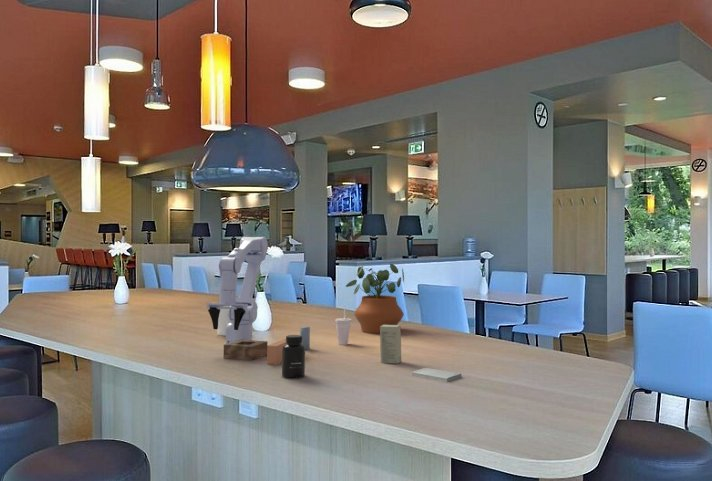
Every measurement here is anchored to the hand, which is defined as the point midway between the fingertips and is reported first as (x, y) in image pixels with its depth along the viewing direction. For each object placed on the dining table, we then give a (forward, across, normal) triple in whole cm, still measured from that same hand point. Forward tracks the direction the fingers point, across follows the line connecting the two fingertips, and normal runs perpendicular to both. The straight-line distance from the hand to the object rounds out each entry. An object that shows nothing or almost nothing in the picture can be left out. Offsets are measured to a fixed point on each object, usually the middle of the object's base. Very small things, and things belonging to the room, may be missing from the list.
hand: (225, 329), depth 200 cm
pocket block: (+9, +8, +1) cm, 12 cm away
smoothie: (+5, +36, +30) cm, 47 cm away
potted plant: (-1, +43, +66) cm, 78 cm away
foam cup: (+3, -18, +42) cm, 45 cm away
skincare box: (+9, +58, +1) cm, 59 cm away
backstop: (+9, +22, -1) cm, 24 cm away
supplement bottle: (+13, +32, -24) cm, 42 cm away
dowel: (+6, +24, +18) cm, 31 cm away
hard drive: (+12, +74, -15) cm, 76 cm away
